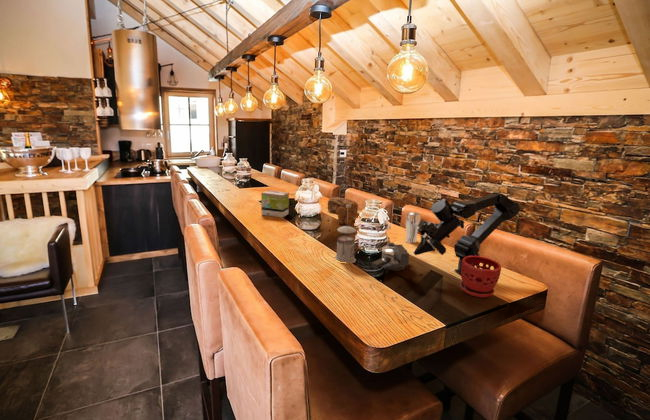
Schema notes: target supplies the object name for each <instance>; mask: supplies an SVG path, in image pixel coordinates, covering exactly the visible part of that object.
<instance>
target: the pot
mask: <svg viewBox="0 0 650 420" xmlns="http://www.w3.org/2000/svg"><path fill="white" fill-rule="evenodd" d="M370 267H371V268H373V269H377V270H378V269H380V268H384V269H386V270H389V271H394V272H395V271H398V272H399V271H403V270H404V269H406V266H403V265H400V264H399V263H398V261H397V260H396V258H395V257H394V256H390V255H386V254H384V253H383V252H382V251H381V258H379V259H377V260H374V261H372V262H371V266H370Z"/></svg>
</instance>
